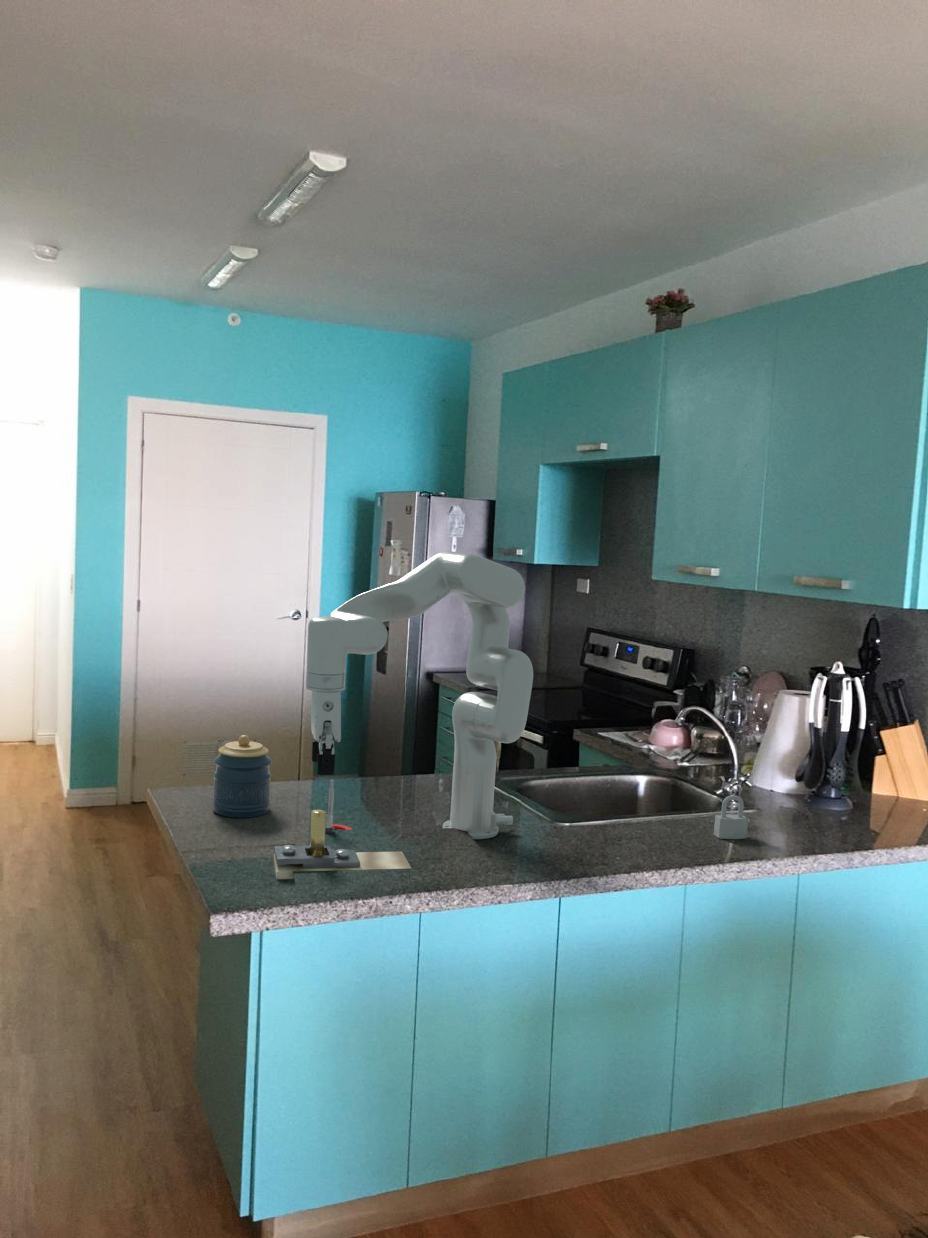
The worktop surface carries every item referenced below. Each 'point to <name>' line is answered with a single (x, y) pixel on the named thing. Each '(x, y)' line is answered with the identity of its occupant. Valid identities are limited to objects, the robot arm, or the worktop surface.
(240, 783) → the canister
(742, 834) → the padlock
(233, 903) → the worktop surface
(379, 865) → the jig board
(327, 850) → the riveted slotted plate
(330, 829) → the tow hook
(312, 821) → the pin
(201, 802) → the worktop surface
